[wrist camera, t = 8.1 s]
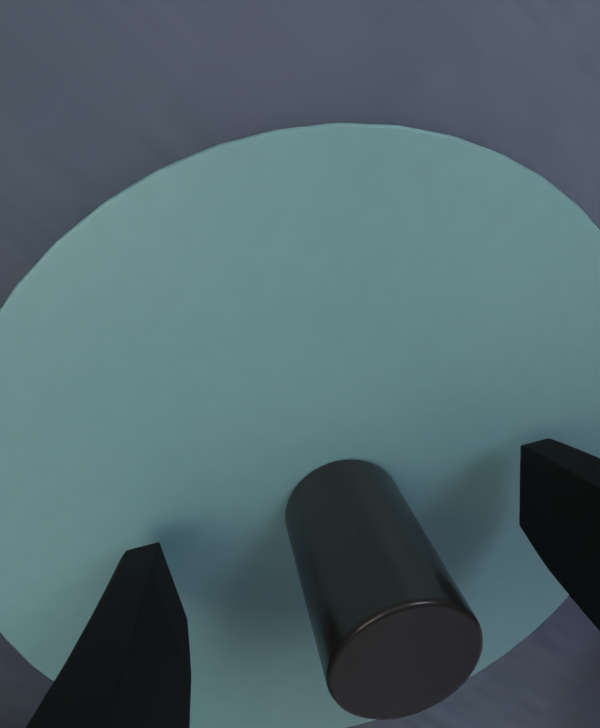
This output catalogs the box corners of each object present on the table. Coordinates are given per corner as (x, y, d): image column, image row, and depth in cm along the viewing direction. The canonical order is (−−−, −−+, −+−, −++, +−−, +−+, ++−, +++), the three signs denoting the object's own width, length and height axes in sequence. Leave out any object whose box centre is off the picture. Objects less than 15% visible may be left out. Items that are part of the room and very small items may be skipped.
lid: (653, 60, 10) (1023, -4, 5) (595, 610, 16) (747, 785, 11) (-194, 215, 8) (-625, 302, 4) (106, 761, 14) (72, 1030, 10)
